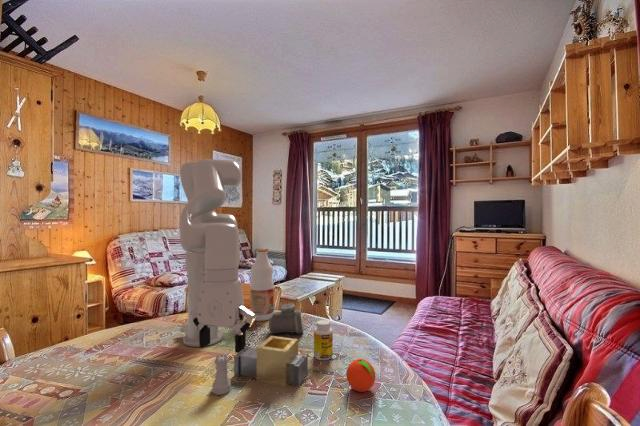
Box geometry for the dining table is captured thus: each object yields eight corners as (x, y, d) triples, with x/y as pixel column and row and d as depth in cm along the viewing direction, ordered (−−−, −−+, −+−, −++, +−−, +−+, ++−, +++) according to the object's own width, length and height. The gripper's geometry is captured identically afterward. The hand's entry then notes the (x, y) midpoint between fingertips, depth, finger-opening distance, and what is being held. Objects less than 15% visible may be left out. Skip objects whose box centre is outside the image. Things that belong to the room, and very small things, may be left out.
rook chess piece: (214, 385, 76) (214, 353, 76) (233, 384, 77) (233, 352, 77) (209, 396, 72) (209, 361, 72) (229, 395, 72) (229, 360, 72)
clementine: (384, 394, 73) (384, 363, 73) (362, 404, 69) (362, 371, 69) (362, 379, 79) (362, 351, 79) (340, 387, 76) (340, 357, 76)
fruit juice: (247, 315, 129) (247, 248, 129) (269, 312, 133) (269, 246, 133) (254, 322, 120) (253, 250, 121) (277, 319, 125) (277, 249, 125)
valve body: (232, 377, 80) (232, 344, 80) (248, 362, 88) (248, 332, 88) (297, 388, 75) (297, 353, 75) (308, 372, 83) (308, 340, 83)
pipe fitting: (304, 326, 115) (301, 299, 114) (304, 337, 107) (300, 308, 106) (272, 330, 115) (268, 303, 114) (269, 341, 107) (265, 312, 106)
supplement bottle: (320, 363, 88) (320, 326, 88) (310, 355, 93) (310, 321, 93) (336, 358, 91) (336, 322, 91) (325, 351, 96) (325, 317, 96)
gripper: (180, 276, 73) (180, 350, 73) (245, 279, 68) (246, 359, 68) (201, 271, 80) (202, 338, 80) (261, 274, 75) (262, 346, 75)
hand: (222, 348), depth 74 cm, fingers open, 9 cm apart
